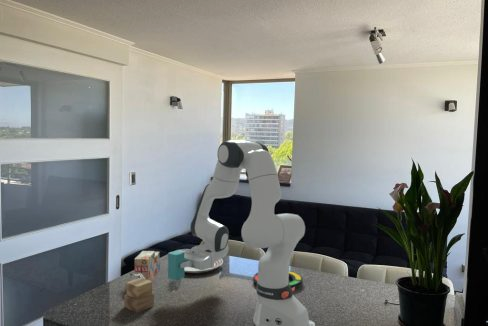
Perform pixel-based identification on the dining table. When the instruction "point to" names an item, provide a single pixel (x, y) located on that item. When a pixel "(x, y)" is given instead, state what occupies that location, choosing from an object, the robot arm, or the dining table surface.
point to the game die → (136, 276)
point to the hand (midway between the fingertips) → (174, 264)
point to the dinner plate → (193, 270)
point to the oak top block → (139, 288)
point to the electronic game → (293, 276)
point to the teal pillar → (175, 265)
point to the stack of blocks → (147, 264)
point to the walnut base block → (139, 303)
